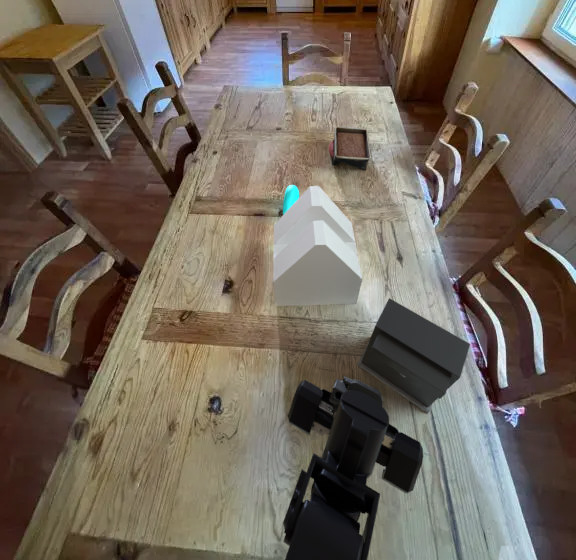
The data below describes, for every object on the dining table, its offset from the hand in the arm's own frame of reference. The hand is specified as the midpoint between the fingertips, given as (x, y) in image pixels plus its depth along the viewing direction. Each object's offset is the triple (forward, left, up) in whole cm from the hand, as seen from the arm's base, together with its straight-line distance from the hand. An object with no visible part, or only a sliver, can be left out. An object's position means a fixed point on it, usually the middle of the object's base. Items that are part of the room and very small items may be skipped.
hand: (359, 400), depth 57 cm
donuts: (+50, +10, -12) cm, 52 cm away
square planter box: (+76, -6, -12) cm, 77 cm away
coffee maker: (+7, -9, -12) cm, 17 cm away
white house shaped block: (+30, +7, -12) cm, 33 cm away
